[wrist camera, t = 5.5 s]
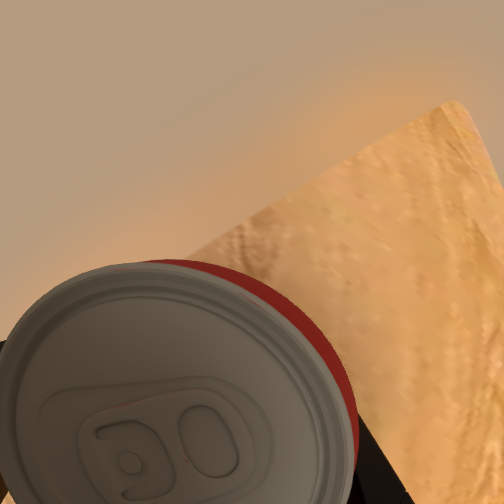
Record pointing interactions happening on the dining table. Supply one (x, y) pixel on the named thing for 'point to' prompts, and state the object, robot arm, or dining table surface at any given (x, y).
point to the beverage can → (173, 393)
